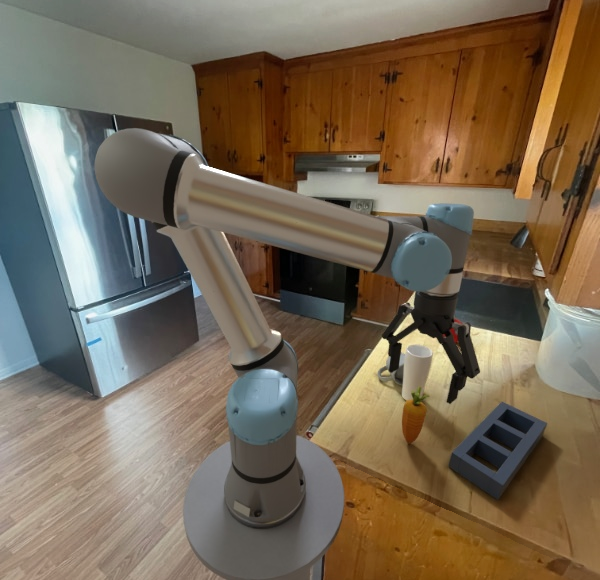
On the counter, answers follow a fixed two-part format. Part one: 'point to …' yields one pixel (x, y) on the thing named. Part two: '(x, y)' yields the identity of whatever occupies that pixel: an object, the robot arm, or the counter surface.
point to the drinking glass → (416, 369)
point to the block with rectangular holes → (497, 448)
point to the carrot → (413, 416)
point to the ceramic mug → (395, 375)
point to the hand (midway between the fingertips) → (420, 384)
